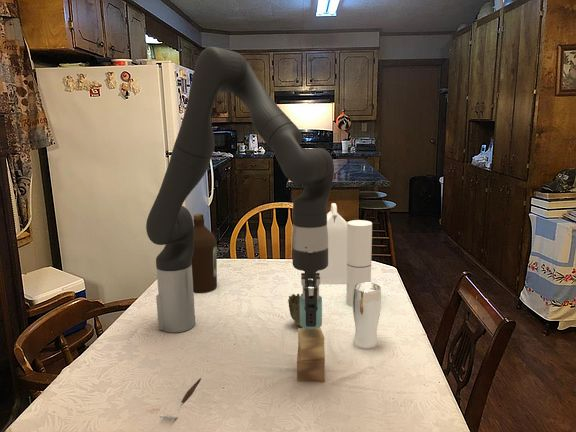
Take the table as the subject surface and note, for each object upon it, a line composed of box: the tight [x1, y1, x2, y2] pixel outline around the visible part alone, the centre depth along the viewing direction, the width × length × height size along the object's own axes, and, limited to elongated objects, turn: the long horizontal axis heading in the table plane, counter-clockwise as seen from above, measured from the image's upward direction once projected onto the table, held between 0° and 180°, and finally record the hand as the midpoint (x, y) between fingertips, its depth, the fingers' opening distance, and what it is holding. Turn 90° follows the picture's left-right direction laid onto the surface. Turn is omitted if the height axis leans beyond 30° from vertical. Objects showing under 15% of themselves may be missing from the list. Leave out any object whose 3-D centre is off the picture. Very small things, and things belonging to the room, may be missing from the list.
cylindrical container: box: [345, 219, 373, 308], centre depth 139 cm, size 7×7×25 cm
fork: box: [159, 377, 202, 420], centre depth 96 cm, size 3×16×2 cm, turn 166°
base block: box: [296, 347, 326, 383], centre depth 104 cm, size 6×6×5 cm
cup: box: [287, 292, 303, 328], centre depth 127 cm, size 8×7×8 cm
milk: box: [316, 202, 348, 285], centre depth 161 cm, size 12×12×26 cm
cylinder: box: [300, 295, 323, 329], centre depth 101 cm, size 5×5×6 cm
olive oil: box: [192, 213, 218, 294], centre depth 154 cm, size 11×11×25 cm
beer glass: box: [352, 282, 382, 350], centre depth 116 cm, size 7×7×15 cm
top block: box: [297, 327, 325, 360], centre depth 103 cm, size 5×5×5 cm
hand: (310, 320), depth 102 cm, fingers closed on cylinder, 4 cm apart
